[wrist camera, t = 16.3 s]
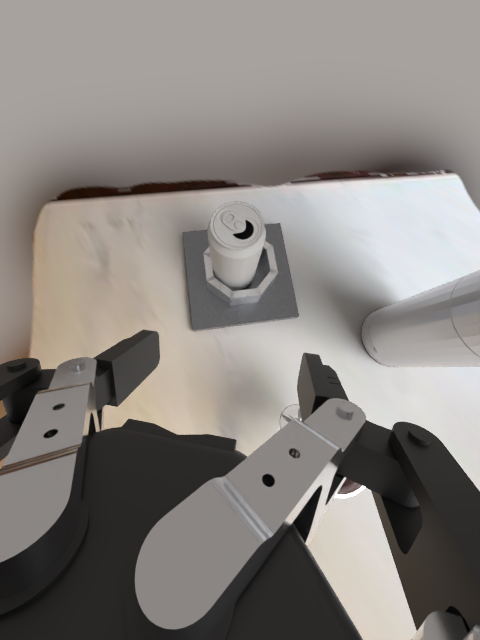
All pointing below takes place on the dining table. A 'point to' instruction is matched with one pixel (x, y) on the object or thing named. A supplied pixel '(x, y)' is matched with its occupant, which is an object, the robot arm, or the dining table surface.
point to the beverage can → (236, 243)
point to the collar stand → (248, 303)
